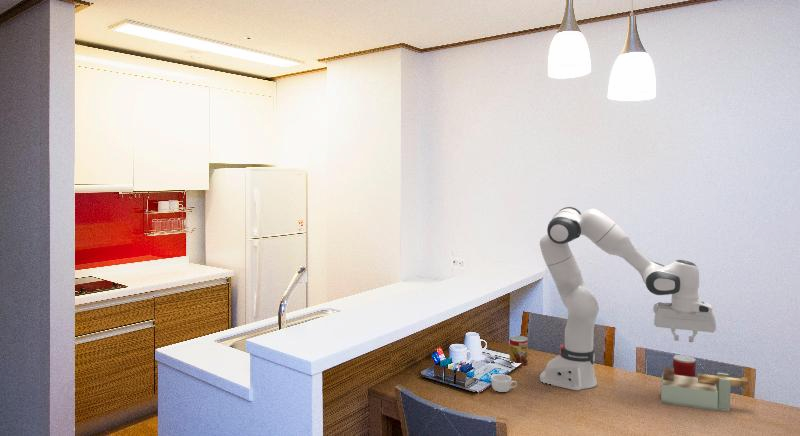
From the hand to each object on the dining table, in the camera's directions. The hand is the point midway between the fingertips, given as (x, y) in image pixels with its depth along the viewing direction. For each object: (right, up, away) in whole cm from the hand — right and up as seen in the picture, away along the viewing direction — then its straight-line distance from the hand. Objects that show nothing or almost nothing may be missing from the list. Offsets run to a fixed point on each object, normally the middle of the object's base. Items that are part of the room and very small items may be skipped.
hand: (683, 340), depth 201 cm
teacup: (-64, -23, +14) cm, 69 cm away
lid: (+2, -16, +1) cm, 16 cm away
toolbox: (+4, -23, 0) cm, 23 cm away
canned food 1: (-52, -21, +43) cm, 70 cm away
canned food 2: (+9, -22, +17) cm, 29 cm away
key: (+12, -15, -4) cm, 20 cm away
